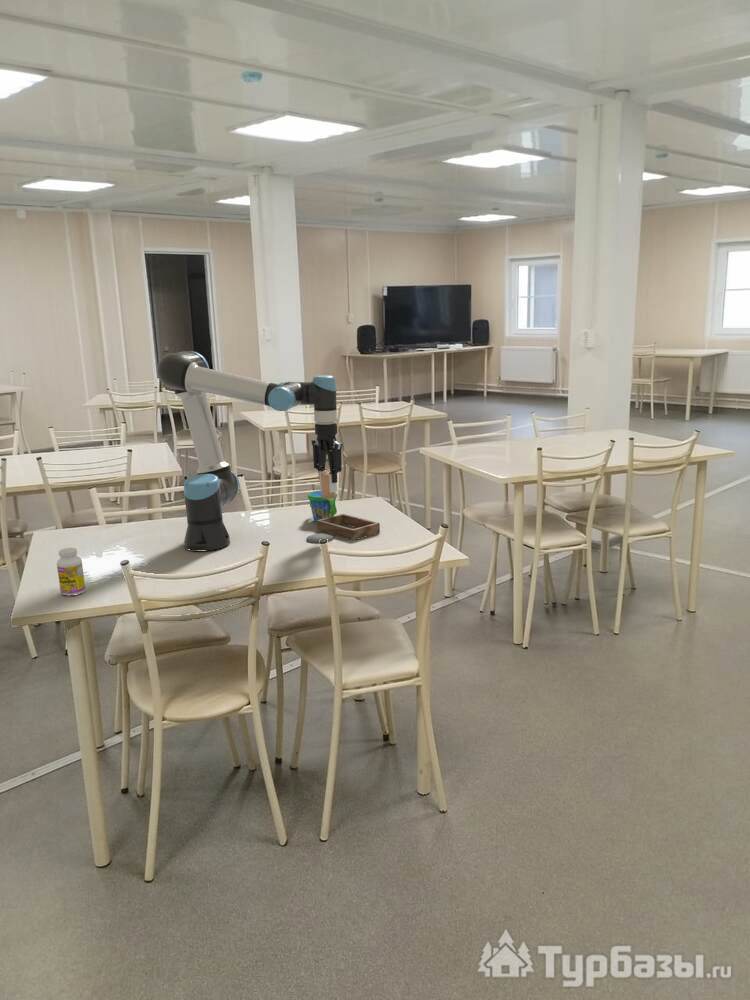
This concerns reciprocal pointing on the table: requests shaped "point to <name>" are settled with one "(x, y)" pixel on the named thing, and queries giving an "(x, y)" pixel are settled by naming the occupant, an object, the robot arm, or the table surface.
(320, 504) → the snack cup
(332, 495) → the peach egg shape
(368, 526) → the tray
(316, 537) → the slate coaster
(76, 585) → the supplement bottle
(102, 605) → the table surface
